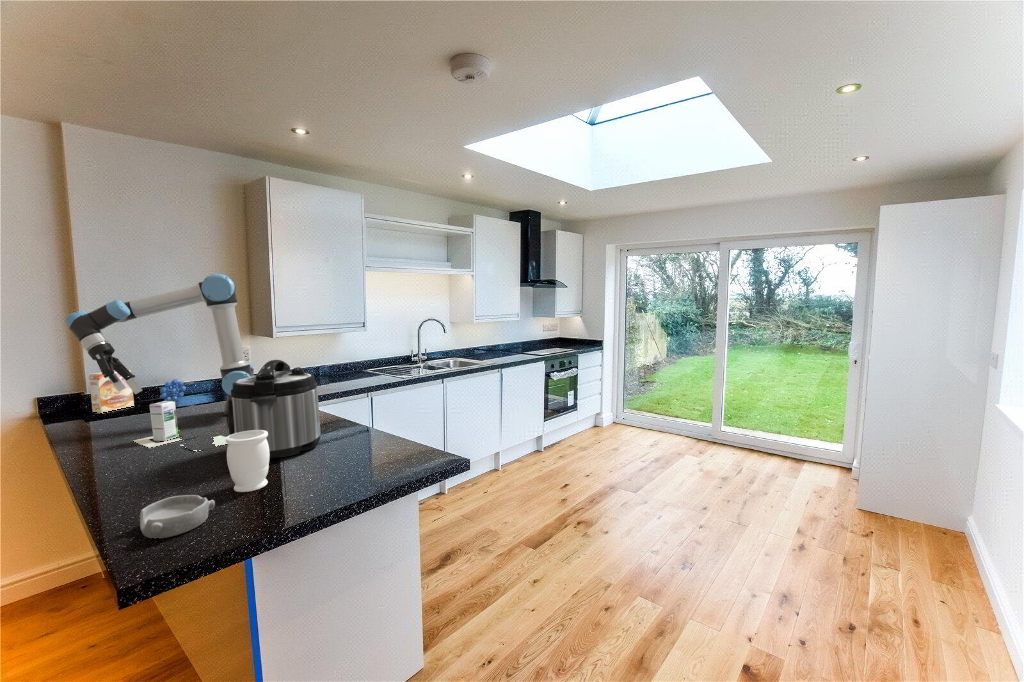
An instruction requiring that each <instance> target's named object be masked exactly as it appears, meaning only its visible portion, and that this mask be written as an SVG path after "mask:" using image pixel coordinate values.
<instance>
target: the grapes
mask: <svg viewBox="0 0 1024 682" xmlns="http://www.w3.org/2000/svg"><path fill="white" fill-rule="evenodd" d="M184 384H185V382H184V381H182V380H180V381H179V380H178V379H177V378H175V379H172V380H171V381H166V382H165V383H164V386H162V387H160V389H159V391H160V394H159V398H160V399H164V400H163V401H174V402H175V403H176V401H178V400H179V398H182V397H184V394H185V393H184V392H185V391H186V390H187V387H186V385H184Z"/></svg>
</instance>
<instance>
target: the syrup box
mask: <svg viewBox="0 0 1024 682" xmlns="http://www.w3.org/2000/svg"><path fill="white" fill-rule="evenodd" d="M176 407H177V406H176V401H175V402H174V401H165V400H163V401H159V402H156V403H150V404H149V411H150V412H149V413H150V422H151V430H152V436H153V442H160V441H167V440H168V441H169V440H170V439H171V440H173V438H175V439H177V438H176V437H178V438H180V436H179V434H178V431H179V427H178V418H177V410H176Z"/></svg>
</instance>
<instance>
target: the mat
mask: <svg viewBox="0 0 1024 682" xmlns="http://www.w3.org/2000/svg"><path fill="white" fill-rule="evenodd" d="M212 437H213V438H214V439H213V440H214V442H213V443H212V444H215V446H216V447H217V446H218V445H219V446H220V445H224V446H226V445H225V444H228V443H227V442H226V437H227V436H224V435H221V434H220V435H217V436H212ZM183 444H184V443H183ZM183 444H182V443H181V444H179V445H180V446H184V445H183ZM180 446H179V447H180ZM185 448H186V447H185ZM185 448H184V449H185ZM217 448H218V447H217ZM193 451H196V452H197V450H193ZM193 451H192V452H193ZM199 451H201V450H199ZM196 452H195V453H196ZM201 452H202V451H201ZM197 453H198V452H197Z"/></svg>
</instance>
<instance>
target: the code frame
mask: <svg viewBox="0 0 1024 682" xmlns="http://www.w3.org/2000/svg"><path fill="white" fill-rule="evenodd" d="M180 438H181V437H178V438H175V439H171V440H168V441H164V442H160V441H159V442H156V441H153V440H154V439H153V435H152V436H148V437H147V436H146V437H143V438H139V439H138V438H137V439H135V440H132V442H133V441H134V442H133V443H135V442H136V443H135V444H137V443H138V444H137V445H140V446H142V445H143V446H142V447H144V446H145V448H147V447H148V448H147V449H152V448H151V447H153V448H157V447H156V446H158V447H161V446H160V445H162V446H164V445H163V444H166V445H168V444H167V443H171V442H175V441H179V440H182V439H180ZM150 439H153V440H150ZM179 442H180V441H179ZM175 443H176V442H175ZM171 444H172V443H171Z"/></svg>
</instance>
